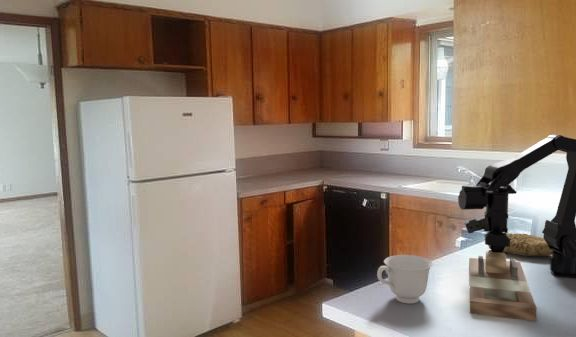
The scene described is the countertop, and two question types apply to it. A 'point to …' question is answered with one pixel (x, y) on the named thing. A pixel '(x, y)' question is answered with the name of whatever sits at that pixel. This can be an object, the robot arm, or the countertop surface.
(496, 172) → the robot arm
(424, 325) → the countertop surface
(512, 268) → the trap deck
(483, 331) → the countertop surface
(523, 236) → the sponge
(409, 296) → the teacup
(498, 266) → the maple block
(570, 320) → the countertop surface
